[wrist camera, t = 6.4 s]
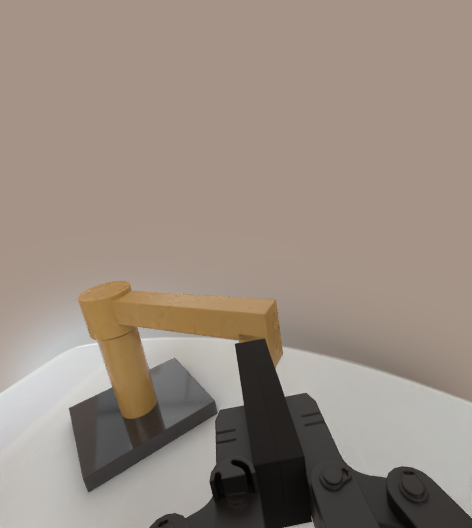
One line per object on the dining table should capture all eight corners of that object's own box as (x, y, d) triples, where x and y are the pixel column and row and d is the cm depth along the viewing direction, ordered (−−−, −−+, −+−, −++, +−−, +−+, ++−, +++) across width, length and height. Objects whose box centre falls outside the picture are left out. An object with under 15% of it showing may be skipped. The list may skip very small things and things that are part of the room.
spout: (83, 347, 28) (66, 299, 27) (119, 323, 32) (106, 280, 30) (267, 384, 20) (257, 316, 18) (287, 345, 23) (280, 287, 22)
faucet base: (177, 367, 39) (158, 293, 36) (217, 413, 30) (198, 321, 27) (73, 419, 33) (40, 335, 30) (88, 492, 25) (45, 387, 22)
